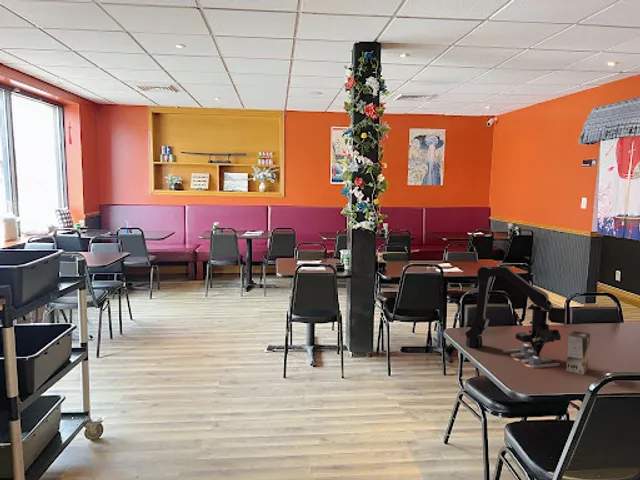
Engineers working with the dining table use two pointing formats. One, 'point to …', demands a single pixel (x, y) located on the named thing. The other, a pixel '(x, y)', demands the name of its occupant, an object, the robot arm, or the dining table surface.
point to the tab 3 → (535, 360)
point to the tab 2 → (530, 354)
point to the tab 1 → (525, 348)
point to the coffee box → (578, 352)
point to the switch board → (528, 359)
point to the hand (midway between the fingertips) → (537, 355)
